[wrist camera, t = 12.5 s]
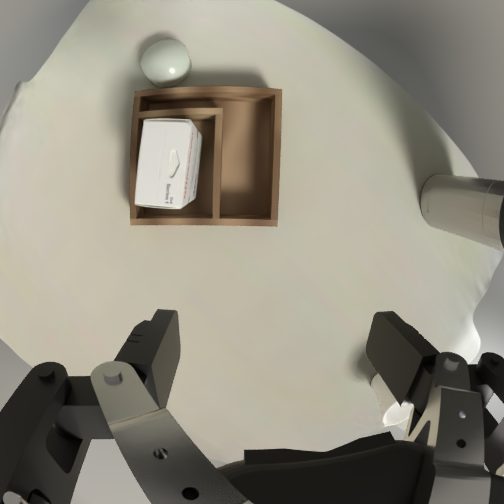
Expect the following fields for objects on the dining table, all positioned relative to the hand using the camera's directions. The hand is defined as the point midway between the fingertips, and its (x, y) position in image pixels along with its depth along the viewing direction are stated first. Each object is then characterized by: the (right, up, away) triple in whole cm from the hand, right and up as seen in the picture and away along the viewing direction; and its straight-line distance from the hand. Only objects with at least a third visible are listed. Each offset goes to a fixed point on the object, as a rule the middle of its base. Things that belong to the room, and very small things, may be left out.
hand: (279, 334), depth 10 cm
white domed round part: (-13, +29, +20) cm, 38 cm away
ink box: (-10, +14, +24) cm, 30 cm away
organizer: (-7, +16, +24) cm, 30 cm away
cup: (+25, -23, +37) cm, 51 cm away
